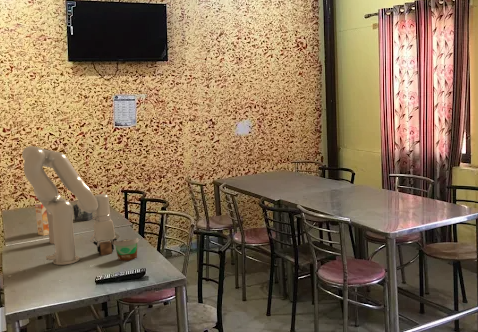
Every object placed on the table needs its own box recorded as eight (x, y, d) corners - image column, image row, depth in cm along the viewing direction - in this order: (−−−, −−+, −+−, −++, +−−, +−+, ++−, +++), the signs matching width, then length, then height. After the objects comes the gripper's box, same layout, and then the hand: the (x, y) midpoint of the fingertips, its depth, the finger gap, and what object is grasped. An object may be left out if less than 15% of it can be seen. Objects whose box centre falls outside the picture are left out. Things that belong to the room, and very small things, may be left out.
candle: (63, 245, 297) (60, 210, 295) (47, 243, 304) (43, 208, 302) (73, 242, 303) (70, 207, 301) (57, 239, 311) (53, 206, 308)
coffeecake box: (44, 236, 321) (40, 204, 319) (37, 234, 326) (34, 203, 323) (65, 230, 333) (62, 199, 331) (58, 229, 337) (55, 198, 335)
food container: (115, 263, 260) (113, 243, 259) (114, 259, 266) (113, 239, 265) (141, 259, 263) (139, 239, 262) (140, 256, 269) (138, 236, 268)
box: (74, 220, 359) (72, 205, 358) (79, 218, 365) (78, 203, 364) (87, 221, 356) (86, 205, 355) (93, 218, 362) (91, 203, 361)
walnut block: (101, 255, 275) (100, 244, 274) (99, 252, 280) (98, 242, 279) (112, 253, 277) (111, 243, 276) (110, 250, 282) (109, 240, 281)
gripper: (86, 221, 269) (89, 256, 272) (120, 217, 276) (123, 251, 278) (84, 219, 276) (88, 253, 279) (118, 214, 283) (121, 248, 285)
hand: (105, 251), depth 278 cm, fingers closed on walnut block, 5 cm apart
